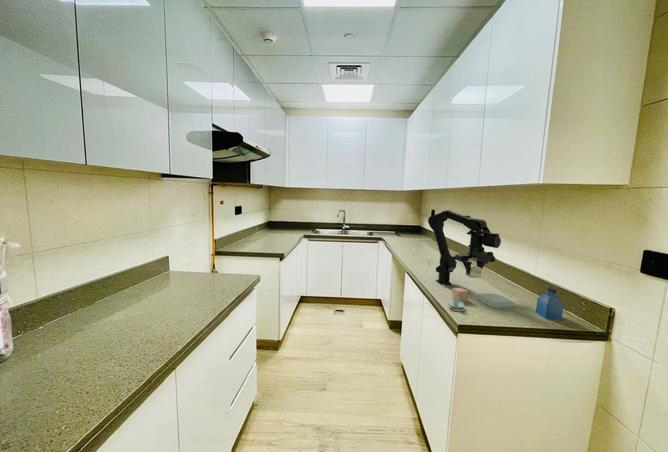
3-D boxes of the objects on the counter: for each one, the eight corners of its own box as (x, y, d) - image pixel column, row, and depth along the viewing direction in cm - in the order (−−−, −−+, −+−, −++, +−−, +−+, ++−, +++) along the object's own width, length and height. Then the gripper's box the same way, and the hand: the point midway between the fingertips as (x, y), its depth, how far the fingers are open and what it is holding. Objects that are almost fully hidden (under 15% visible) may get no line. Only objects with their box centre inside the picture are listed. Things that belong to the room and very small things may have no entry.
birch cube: (465, 274, 138) (466, 265, 138) (474, 274, 139) (475, 265, 138) (471, 277, 133) (472, 268, 133) (480, 277, 134) (481, 268, 133)
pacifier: (468, 311, 115) (458, 305, 120) (470, 297, 114) (460, 292, 119) (454, 313, 113) (445, 306, 118) (456, 299, 112) (446, 293, 117)
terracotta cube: (451, 297, 129) (452, 287, 129) (461, 297, 130) (462, 287, 129) (457, 301, 124) (458, 291, 124) (467, 301, 125) (468, 291, 124)
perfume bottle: (550, 313, 115) (554, 286, 114) (561, 319, 109) (565, 291, 108) (535, 312, 116) (539, 285, 115) (545, 318, 110) (549, 290, 108)
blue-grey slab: (477, 299, 129) (478, 293, 129) (496, 299, 130) (497, 293, 130) (491, 308, 119) (492, 301, 119) (512, 307, 120) (513, 301, 120)
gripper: (468, 247, 125) (465, 279, 127) (505, 247, 127) (501, 279, 129) (455, 242, 136) (452, 272, 138) (489, 243, 138) (486, 272, 140)
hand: (473, 274), depth 136 cm, fingers closed on birch cube, 5 cm apart
